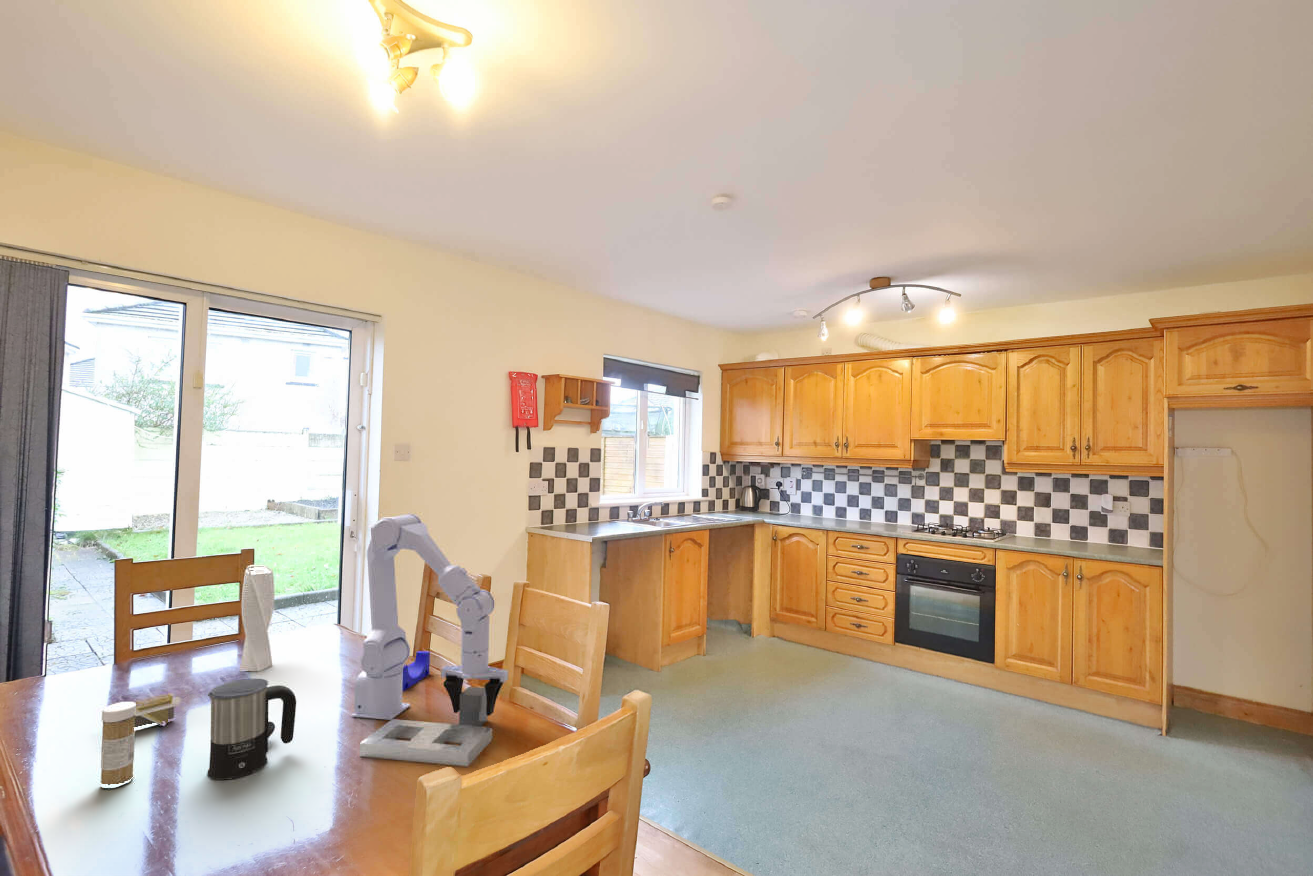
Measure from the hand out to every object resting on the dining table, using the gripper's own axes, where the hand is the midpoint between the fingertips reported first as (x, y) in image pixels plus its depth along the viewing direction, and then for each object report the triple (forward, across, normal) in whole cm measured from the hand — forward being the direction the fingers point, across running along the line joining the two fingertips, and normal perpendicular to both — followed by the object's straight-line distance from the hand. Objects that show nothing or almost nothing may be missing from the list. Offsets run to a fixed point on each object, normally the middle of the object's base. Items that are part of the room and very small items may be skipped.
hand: (473, 712), depth 136 cm
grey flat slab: (+2, -4, -12) cm, 13 cm away
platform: (+3, -64, -14) cm, 66 cm away
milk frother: (+3, -36, -22) cm, 42 cm away
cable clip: (+3, -27, +20) cm, 34 cm away
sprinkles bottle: (+3, -50, -34) cm, 61 cm away
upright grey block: (+2, 0, 0) cm, 2 cm away
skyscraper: (+3, -71, +21) cm, 74 cm away
